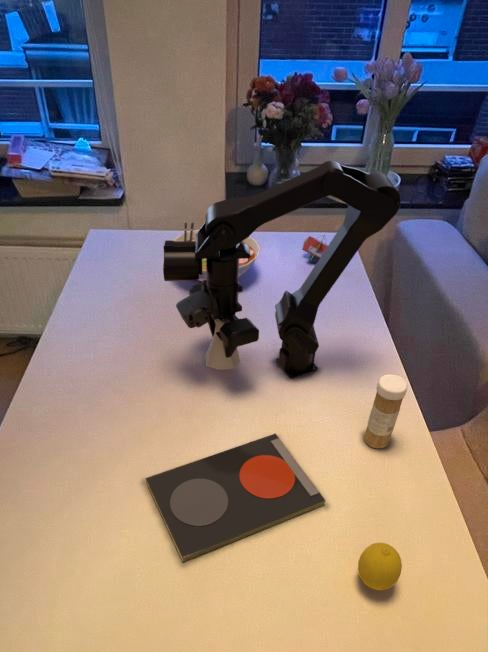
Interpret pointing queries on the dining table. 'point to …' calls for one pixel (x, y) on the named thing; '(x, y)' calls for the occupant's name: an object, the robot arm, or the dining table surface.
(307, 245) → the geometric puzzle
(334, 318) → the dining table surface
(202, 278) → the ramen bowl
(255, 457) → the cooktop
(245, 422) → the dining table surface
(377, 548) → the lemon
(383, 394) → the sprinkles bottle
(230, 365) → the flask
